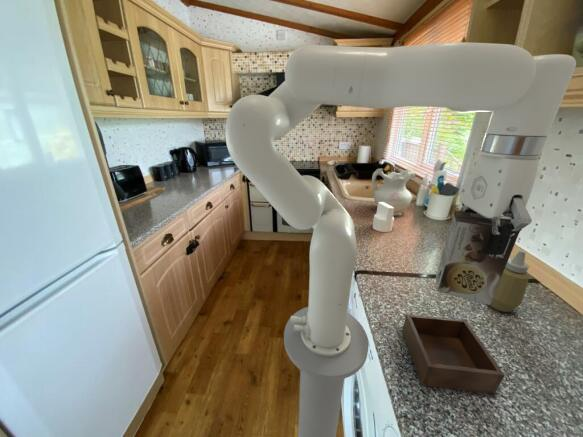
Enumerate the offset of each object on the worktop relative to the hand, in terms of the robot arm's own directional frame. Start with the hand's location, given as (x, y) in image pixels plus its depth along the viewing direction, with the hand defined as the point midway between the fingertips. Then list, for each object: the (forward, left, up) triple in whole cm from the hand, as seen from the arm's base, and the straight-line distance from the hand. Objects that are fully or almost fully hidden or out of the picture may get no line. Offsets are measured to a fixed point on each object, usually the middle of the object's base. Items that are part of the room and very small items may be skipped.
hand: (476, 241), depth 46 cm
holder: (-1, -3, -28) cm, 28 cm away
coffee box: (0, 0, -12) cm, 12 cm away
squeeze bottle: (+23, +17, -28) cm, 40 cm away
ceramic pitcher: (+9, +90, -28) cm, 95 cm away
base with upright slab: (+1, +67, -28) cm, 73 cm away
